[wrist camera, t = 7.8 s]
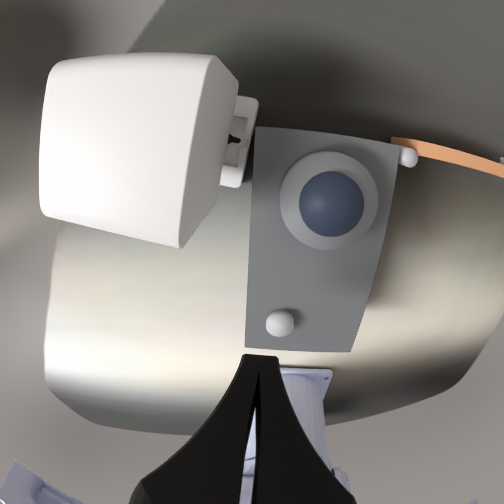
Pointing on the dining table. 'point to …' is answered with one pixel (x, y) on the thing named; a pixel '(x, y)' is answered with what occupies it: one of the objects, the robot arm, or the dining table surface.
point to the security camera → (142, 142)
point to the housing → (315, 236)
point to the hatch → (443, 156)
